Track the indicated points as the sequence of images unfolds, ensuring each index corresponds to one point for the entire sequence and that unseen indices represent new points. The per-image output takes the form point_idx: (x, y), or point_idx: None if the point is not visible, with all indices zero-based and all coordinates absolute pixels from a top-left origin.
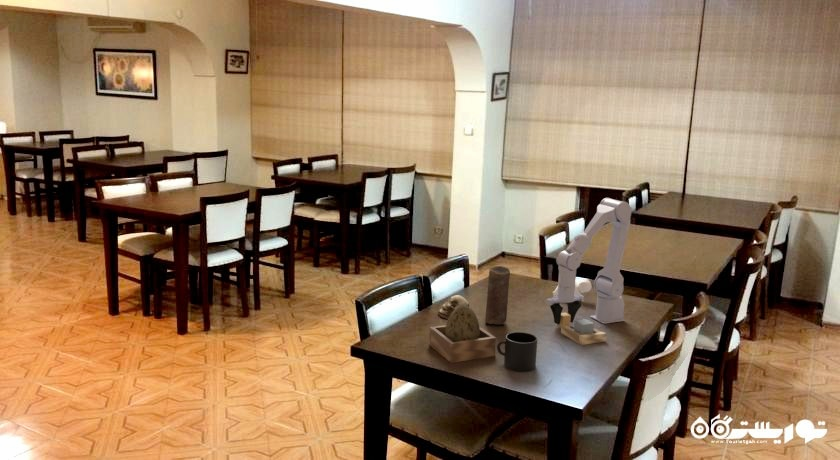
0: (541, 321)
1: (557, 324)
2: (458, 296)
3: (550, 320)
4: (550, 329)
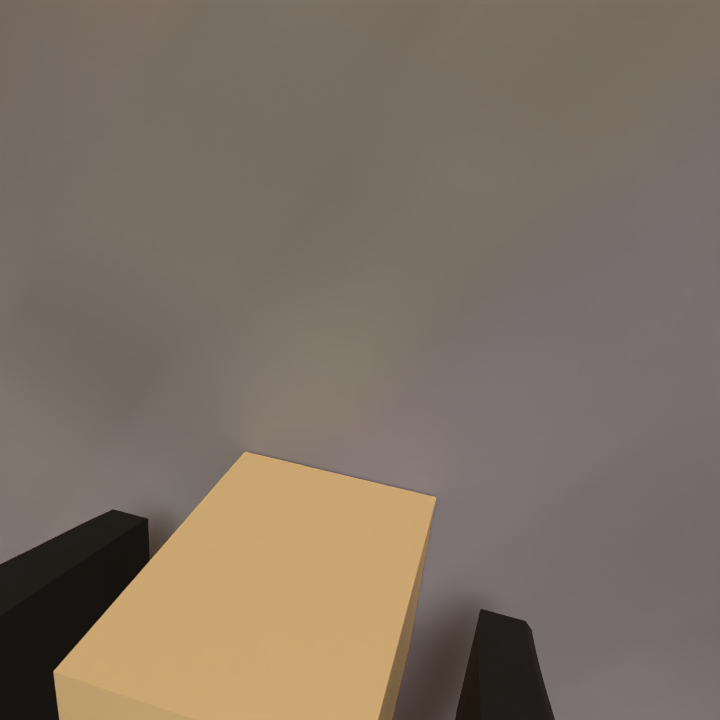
0: (74, 68)
1: (233, 478)
2: None
3: (324, 113)
4: (31, 510)
